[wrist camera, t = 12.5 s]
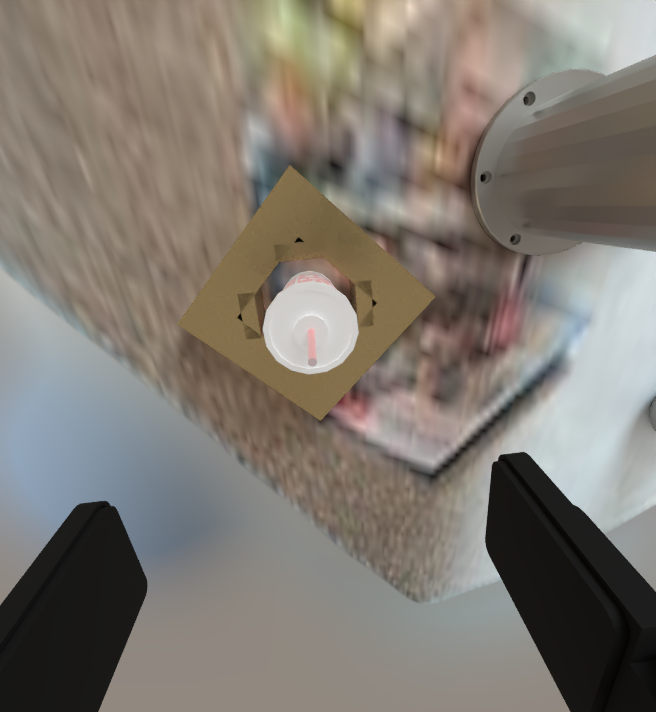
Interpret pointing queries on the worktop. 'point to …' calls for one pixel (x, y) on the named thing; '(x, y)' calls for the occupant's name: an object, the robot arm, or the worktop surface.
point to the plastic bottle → (653, 414)
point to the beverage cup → (310, 325)
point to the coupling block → (316, 239)
